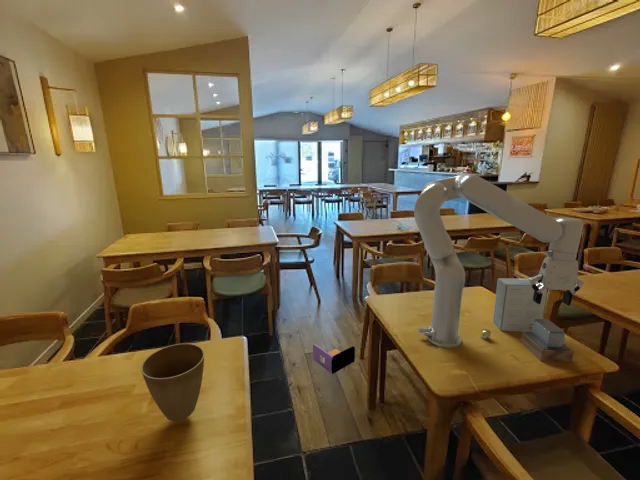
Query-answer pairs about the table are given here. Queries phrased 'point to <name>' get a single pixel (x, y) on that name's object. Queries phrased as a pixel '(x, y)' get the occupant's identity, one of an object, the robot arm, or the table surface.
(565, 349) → the stand
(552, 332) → the housing
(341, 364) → the miniature room corner
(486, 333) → the brass bushing
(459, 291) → the robot arm
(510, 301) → the hard drive box
